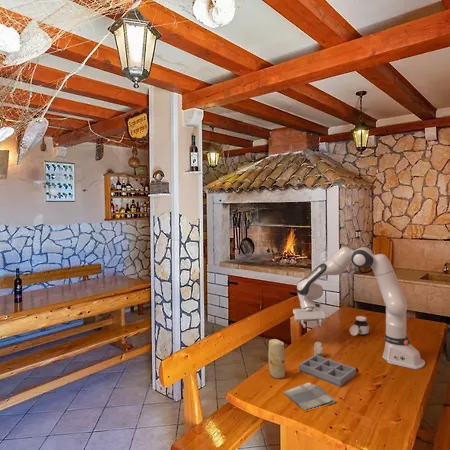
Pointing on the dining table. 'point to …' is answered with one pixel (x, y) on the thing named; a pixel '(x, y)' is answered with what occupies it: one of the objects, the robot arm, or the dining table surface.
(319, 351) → the egg
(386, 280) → the robot arm
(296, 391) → the dish towel
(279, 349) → the food model
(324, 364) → the gray compartment tray
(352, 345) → the dining table surface
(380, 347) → the dining table surface
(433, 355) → the dining table surface
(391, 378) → the dining table surface
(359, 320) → the spread jar
